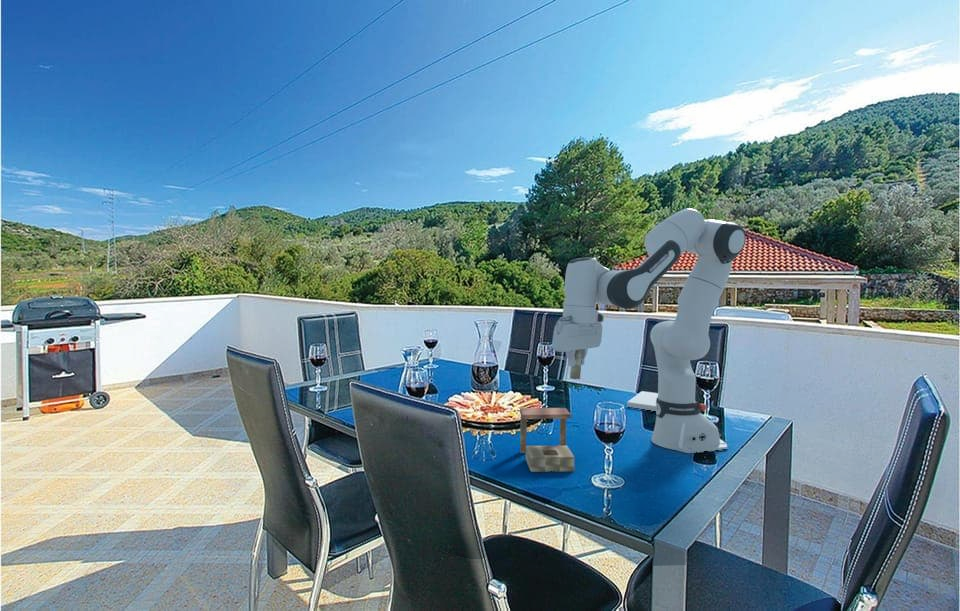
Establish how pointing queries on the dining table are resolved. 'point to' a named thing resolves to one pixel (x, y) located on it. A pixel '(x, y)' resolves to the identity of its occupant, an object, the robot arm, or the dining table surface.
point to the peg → (576, 365)
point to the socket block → (549, 458)
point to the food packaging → (644, 401)
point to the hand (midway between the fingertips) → (576, 365)
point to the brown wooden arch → (543, 414)
